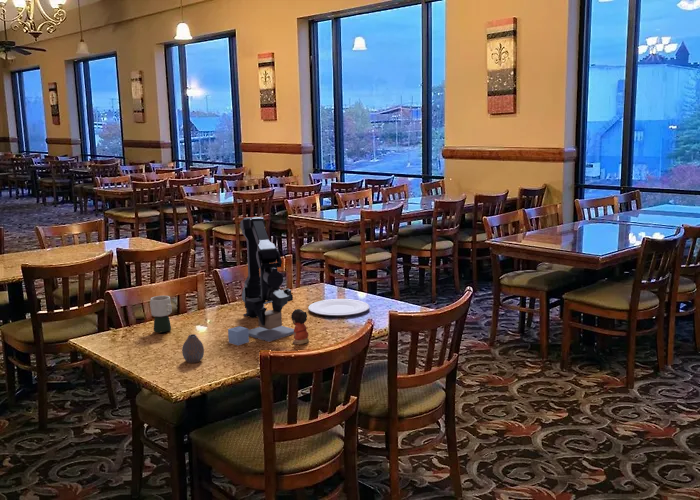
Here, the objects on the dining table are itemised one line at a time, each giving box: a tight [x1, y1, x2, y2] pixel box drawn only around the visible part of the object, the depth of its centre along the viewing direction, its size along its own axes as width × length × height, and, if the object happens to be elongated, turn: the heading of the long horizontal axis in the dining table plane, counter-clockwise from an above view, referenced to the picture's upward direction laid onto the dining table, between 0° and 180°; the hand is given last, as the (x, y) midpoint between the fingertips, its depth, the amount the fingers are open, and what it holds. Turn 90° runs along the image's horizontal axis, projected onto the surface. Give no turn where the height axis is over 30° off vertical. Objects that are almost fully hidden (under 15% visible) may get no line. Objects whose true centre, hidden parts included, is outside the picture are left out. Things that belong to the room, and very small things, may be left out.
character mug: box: [149, 295, 173, 333], centre depth 262 cm, size 11×7×13 cm, turn 57°
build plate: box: [248, 325, 294, 343], centre depth 259 cm, size 14×14×1 cm
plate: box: [308, 298, 370, 318], centre depth 288 cm, size 25×25×2 cm
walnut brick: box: [257, 309, 283, 329], centre depth 258 cm, size 6×6×5 cm
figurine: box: [290, 308, 310, 345], centre depth 247 cm, size 6×6×12 cm
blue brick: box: [227, 325, 250, 346], centre depth 249 cm, size 5×5×5 cm
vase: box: [181, 333, 205, 364], centre depth 230 cm, size 7×7×9 cm
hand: (270, 323), depth 258 cm, fingers closed on walnut brick, 6 cm apart
